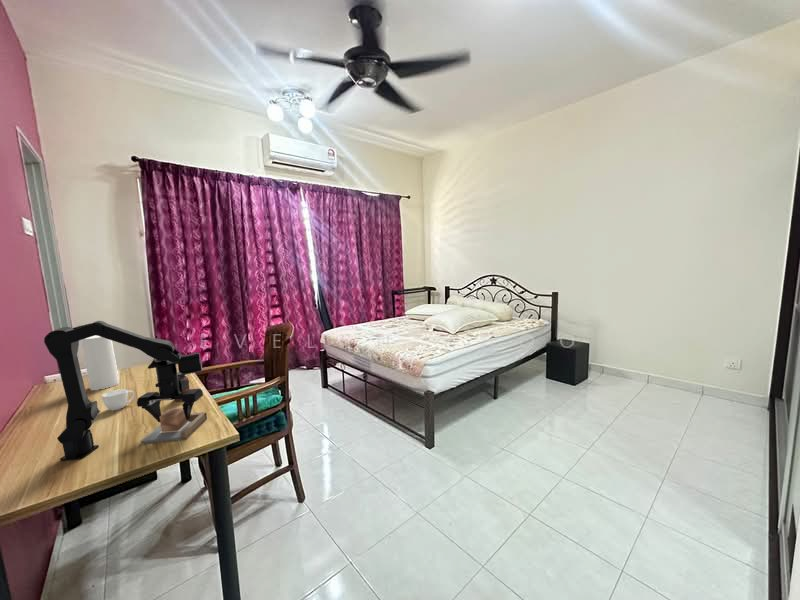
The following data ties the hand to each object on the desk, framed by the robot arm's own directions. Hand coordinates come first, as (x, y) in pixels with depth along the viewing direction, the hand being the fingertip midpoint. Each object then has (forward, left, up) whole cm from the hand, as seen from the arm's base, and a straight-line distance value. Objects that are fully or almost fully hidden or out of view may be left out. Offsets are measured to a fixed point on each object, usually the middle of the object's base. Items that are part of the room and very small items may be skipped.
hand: (174, 420), depth 114 cm
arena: (0, -1, -3) cm, 3 cm away
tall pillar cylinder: (+52, +61, -4) cm, 80 cm away
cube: (0, 0, -2) cm, 2 cm away
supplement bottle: (+28, +12, -4) cm, 30 cm away
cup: (+24, +34, -4) cm, 42 cm away
